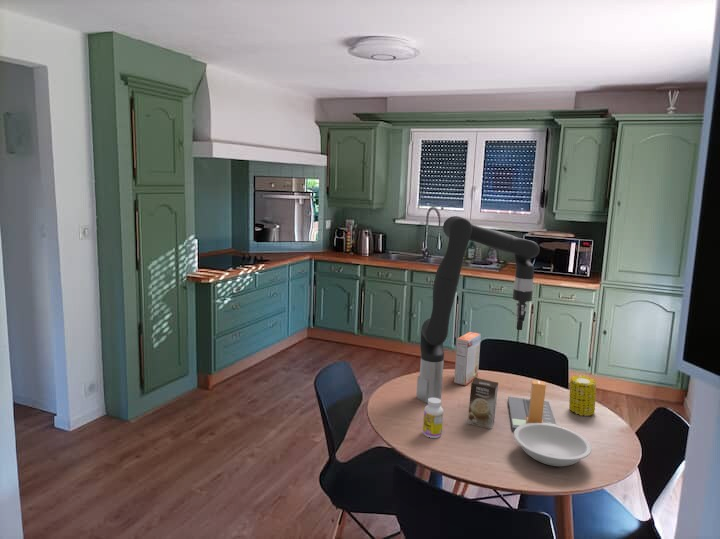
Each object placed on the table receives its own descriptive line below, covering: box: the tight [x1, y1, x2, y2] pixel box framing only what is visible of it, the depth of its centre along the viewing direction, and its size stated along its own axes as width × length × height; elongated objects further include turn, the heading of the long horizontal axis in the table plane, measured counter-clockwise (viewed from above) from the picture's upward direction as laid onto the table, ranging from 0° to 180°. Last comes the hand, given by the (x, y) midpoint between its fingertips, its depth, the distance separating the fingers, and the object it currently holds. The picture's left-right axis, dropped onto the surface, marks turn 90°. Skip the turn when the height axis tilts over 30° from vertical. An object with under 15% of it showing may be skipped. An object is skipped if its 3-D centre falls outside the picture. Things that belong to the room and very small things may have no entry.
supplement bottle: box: [422, 398, 444, 439], centre depth 182 cm, size 7×7×13 cm
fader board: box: [507, 396, 557, 433], centre depth 200 cm, size 28×16×4 cm, turn 168°
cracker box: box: [453, 331, 482, 386], centre depth 233 cm, size 14×6×21 cm, turn 144°
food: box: [568, 374, 597, 417], centre depth 206 cm, size 15×12×10 cm
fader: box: [526, 380, 547, 423], centre depth 189 cm, size 4×6×16 cm
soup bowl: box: [513, 423, 593, 467], centre depth 170 cm, size 24×24×7 cm
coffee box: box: [467, 377, 499, 430], centre depth 192 cm, size 9×6×16 cm
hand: (519, 329), depth 215 cm, fingers closed
